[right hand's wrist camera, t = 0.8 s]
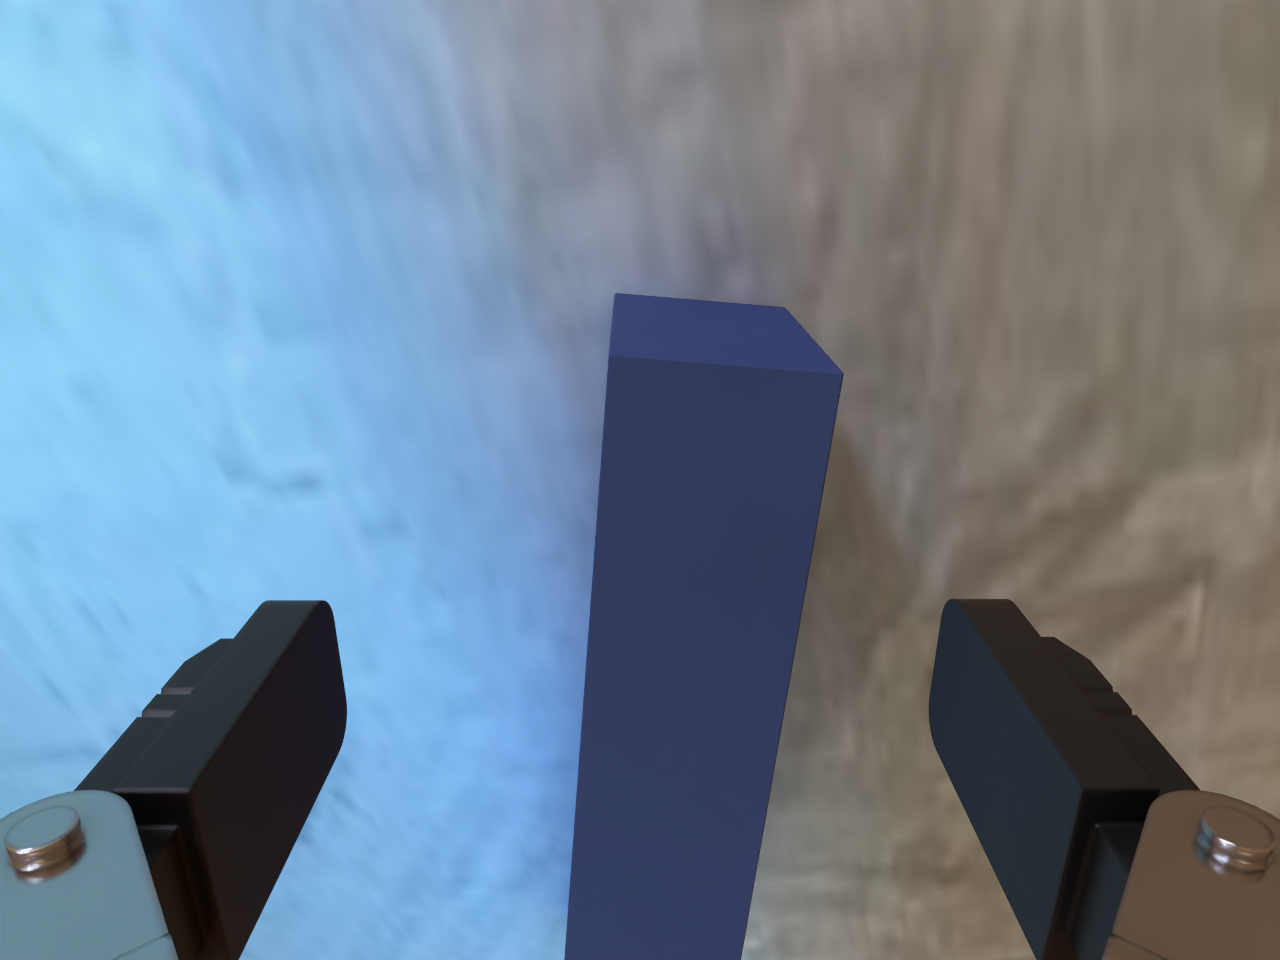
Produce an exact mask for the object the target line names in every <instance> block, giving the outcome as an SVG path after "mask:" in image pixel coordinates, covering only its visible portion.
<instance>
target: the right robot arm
mask: <svg viewBox="0 0 1280 960" xmlns="http://www.w3.org/2000/svg"><path fill="white" fill-rule="evenodd" d="M346 719H347V703H346V695H345V688H344V682H343V675H342V668H341V662H340V655H339V648H338V642H337V635H336V628H335V622H334V616H333V612H332V609H331V607H330V605H329V604H328V603H327V602H326V601H265V602H263V603H262V604H261V605H260V606H259V607H258V609H257V610H256V611H255V612H254V614H253V615H252V616H251V617H250V619H249V620H248V621H247V622H246V624H245V625H244V626H243V627H242V629H241V630H240V631H239V632H238V634H237V635H236V636H235V637H234V639H220V640H218V641H216V642H215V643H213V644H212V645H210V646H209V647H207V648H205V649H204V650H202V651H201V652H199V653H198V654H196V655H194V656H193V657H191V658H190V659H188V660H187V661H185V662H184V663H183V664H182V665H181V667H180V668H179V669H178V670H177V671H176V672H175V674H174V675H173V676H172V677H171V678H170V679H169V681H168V682H167V683H166V684H165V685H164V686H163V688H162V691H161V694H157V695H156V696H155V697H154V698H153V699H152V700H151V702H150V703H149V704H148V705H147V706H146V707H145V709H144V710H143V711H142V717H137V718H136V719H135V720H134V721H133V723H132V724H131V725H130V726H129V727H128V728H127V730H126V731H125V732H124V733H123V734H122V735H121V737H120V738H119V739H118V740H117V741H116V742H115V744H114V745H113V746H112V747H111V748H110V749H109V751H108V752H107V753H106V754H105V755H104V756H103V758H102V759H101V760H100V761H99V762H98V763H97V765H96V766H95V767H94V768H93V769H92V770H91V772H90V773H89V774H88V775H87V776H86V777H85V779H84V780H83V781H82V782H81V783H80V784H79V786H78V787H77V788H76V789H75V790H74V791H73V792H67V793H62V794H58V795H54V796H51V797H48V798H44V799H41V800H38V801H36V802H34V803H31V804H29V805H26V806H24V807H22V808H20V809H18V810H16V811H14V812H12V813H10V814H9V815H7V816H5V817H4V818H2V819H0V960H239V958H240V956H241V954H242V952H243V950H244V947H245V945H246V943H247V941H248V939H249V937H250V935H251V933H252V931H253V929H254V927H255V925H256V923H257V921H258V919H259V916H260V914H261V912H262V910H263V908H264V906H265V904H266V902H267V900H268V898H269V896H270V894H271V892H272V890H273V888H274V885H275V883H276V881H277V879H278V877H279V875H280V873H281V871H282V869H283V867H284V865H285V863H286V861H287V859H288V857H289V855H290V852H291V850H292V848H293V846H294V844H295V842H296V840H297V838H298V836H299V834H300V832H301V830H302V828H303V826H304V824H305V821H306V819H307V817H308V815H309V813H310V811H311V809H312V807H313V805H314V803H315V801H316V799H317V797H318V795H319V793H320V790H321V788H322V786H323V784H324V782H325V780H326V778H327V776H328V774H329V772H330V770H331V768H332V766H333V764H334V762H335V759H336V757H337V755H338V753H339V751H340V749H341V746H342V743H343V739H344V734H345V729H346ZM929 722H930V729H931V735H932V739H933V742H934V745H935V748H936V750H937V753H938V755H939V757H940V759H941V761H942V763H943V765H944V767H945V769H946V771H947V773H948V776H949V778H950V780H951V782H952V784H953V786H954V788H955V790H956V792H957V794H958V796H959V799H960V801H961V803H962V805H963V807H964V809H965V811H966V813H967V815H968V817H969V819H970V822H971V824H972V826H973V828H974V830H975V832H976V834H977V836H978V838H979V840H980V842H981V845H982V847H983V849H984V851H985V853H986V855H987V857H988V859H989V861H990V863H991V865H992V868H993V870H994V872H995V874H996V876H997V878H998V880H999V882H1000V884H1001V886H1002V888H1003V891H1004V893H1005V895H1006V897H1007V899H1008V901H1009V903H1010V905H1011V907H1012V909H1013V911H1014V914H1015V916H1016V918H1017V920H1018V922H1019V924H1020V926H1021V928H1022V930H1023V932H1024V934H1025V937H1026V939H1027V941H1028V943H1029V945H1030V947H1031V949H1032V951H1033V953H1034V955H1035V957H1036V960H1280V819H1278V818H1276V817H1275V816H1273V815H1271V814H1270V813H1268V812H1266V811H1264V810H1262V809H1260V808H1258V807H1256V806H1254V805H1251V804H1249V803H1246V802H1244V801H1242V800H1239V799H1236V798H1232V797H1229V796H1226V795H1222V794H1218V793H1213V792H1207V791H1201V790H1200V789H1199V788H1198V787H1197V786H1196V784H1195V783H1194V782H1193V781H1192V780H1191V779H1190V777H1189V776H1188V775H1187V774H1186V773H1185V772H1184V770H1183V769H1182V768H1181V767H1180V766H1179V764H1178V763H1177V762H1176V761H1175V760H1174V759H1173V757H1172V756H1171V755H1170V754H1169V753H1168V752H1167V750H1166V749H1165V748H1164V747H1163V746H1162V744H1161V743H1160V742H1159V741H1158V740H1157V739H1156V737H1155V736H1154V735H1153V734H1152V733H1151V731H1150V730H1149V729H1148V728H1147V727H1146V726H1145V724H1144V723H1143V722H1142V721H1141V720H1140V719H1139V717H1138V716H1137V715H1132V709H1131V708H1130V707H1129V706H1128V704H1127V703H1126V702H1125V701H1124V700H1123V699H1122V697H1121V696H1120V695H1119V694H1118V693H1117V692H1113V687H1112V686H1111V684H1110V683H1109V682H1108V681H1107V680H1106V679H1105V677H1104V676H1103V675H1102V674H1101V673H1100V671H1099V670H1098V669H1097V668H1096V667H1095V666H1094V664H1093V663H1092V662H1091V661H1090V660H1089V659H1087V658H1086V657H1084V656H1083V655H1081V654H1080V653H1078V652H1076V651H1075V650H1073V649H1072V648H1070V647H1069V646H1067V645H1066V644H1064V643H1062V642H1061V641H1059V640H1058V639H1056V638H1055V637H1041V636H1040V635H1039V634H1038V633H1037V631H1036V630H1035V629H1034V628H1033V626H1032V625H1031V624H1030V622H1029V621H1028V620H1027V619H1026V617H1025V616H1024V615H1023V614H1022V612H1021V611H1020V610H1019V609H1018V607H1017V606H1016V605H1015V604H1014V603H1013V602H1012V601H1011V600H1009V599H950V600H949V601H947V603H946V604H945V606H944V609H943V612H942V617H941V623H940V630H939V636H938V643H937V650H936V657H935V664H934V670H933V677H932V684H931V691H930V698H929Z"/></svg>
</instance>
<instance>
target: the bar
mask: <svg viewBox="0 0 1280 960" xmlns="http://www.w3.org/2000/svg"><path fill="white" fill-rule="evenodd" d="M842 380H843V372H842V371H841V370H840V369H839V368H838V367H837V365H836V364H835V363H834V362H833V361H832V360H831V359H830V358H829V357H828V355H827V354H826V353H825V352H824V351H823V350H822V349H821V348H820V346H819V345H818V344H817V343H816V342H815V341H814V340H813V339H812V338H811V336H810V335H809V334H808V333H807V332H806V331H805V330H804V329H803V327H802V326H801V325H800V324H799V323H798V322H797V321H796V320H795V319H794V317H793V316H792V315H791V314H790V313H789V312H788V311H787V310H786V308H784V307H772V306H760V305H749V304H737V303H725V302H713V301H701V300H689V299H677V298H666V297H654V296H642V295H630V294H618V293H616V294H615V298H614V309H613V319H612V329H611V339H610V349H609V361H608V374H607V388H606V401H605V415H604V429H603V442H602V456H601V470H600V483H599V497H598V510H597V524H596V538H595V551H594V565H593V578H592V592H591V606H590V619H589V633H588V646H587V660H586V674H585V687H584V701H583V715H582V728H581V742H580V755H579V769H578V783H577V796H576V810H575V823H574V837H573V851H572V864H571V878H570V892H569V905H568V919H567V932H566V946H565V960H741V956H742V950H743V944H744V938H745V933H746V927H747V921H748V916H749V910H750V904H751V899H752V893H753V887H754V881H755V876H756V870H757V864H758V859H759V853H760V847H761V842H762V836H763V830H764V824H765V819H766V813H767V807H768V802H769V796H770V790H771V785H772V779H773V773H774V768H775V762H776V756H777V750H778V745H779V739H780V733H781V728H782V722H783V716H784V711H785V705H786V699H787V693H788V688H789V682H790V676H791V671H792V665H793V659H794V654H795V648H796V642H797V636H798V631H799V625H800V619H801V614H802V608H803V602H804V597H805V591H806V585H807V579H808V574H809V568H810V562H811V557H812V551H813V545H814V540H815V534H816V528H817V522H818V517H819V511H820V505H821V500H822V494H823V488H824V483H825V477H826V471H827V465H828V460H829V454H830V448H831V443H832V437H833V431H834V426H835V420H836V414H837V408H838V403H839V397H840V391H841V386H842Z"/></svg>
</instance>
